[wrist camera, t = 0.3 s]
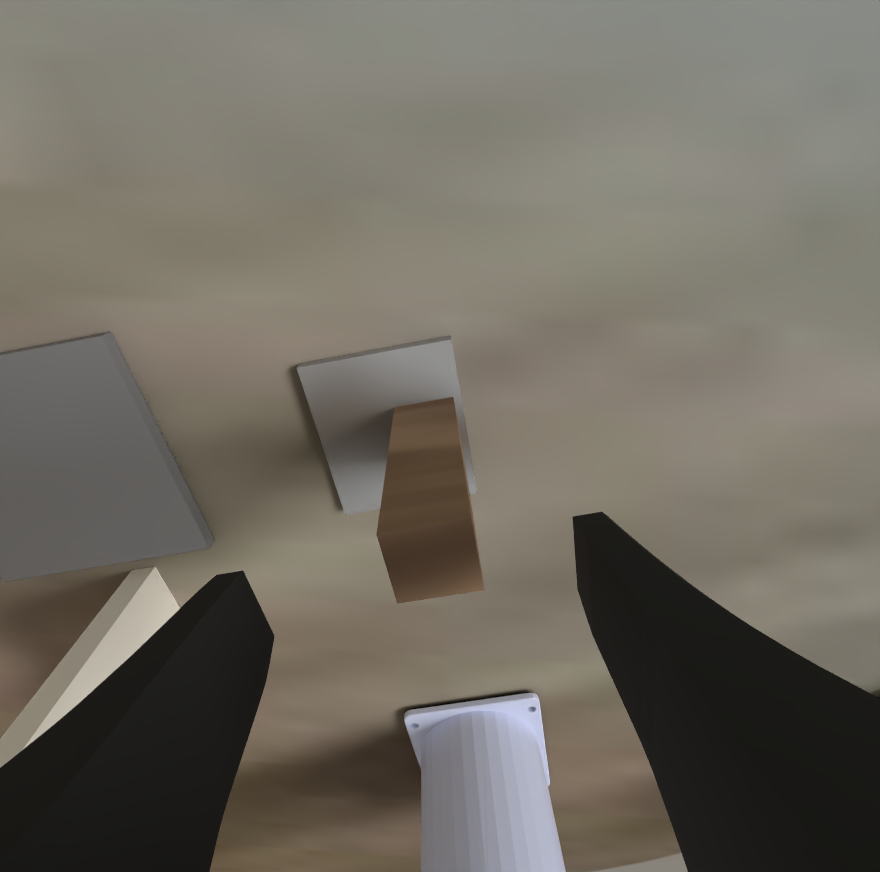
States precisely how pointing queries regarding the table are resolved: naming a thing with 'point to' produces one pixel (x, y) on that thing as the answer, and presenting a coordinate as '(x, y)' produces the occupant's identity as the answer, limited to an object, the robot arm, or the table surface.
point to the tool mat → (85, 465)
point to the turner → (402, 459)
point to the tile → (94, 655)
